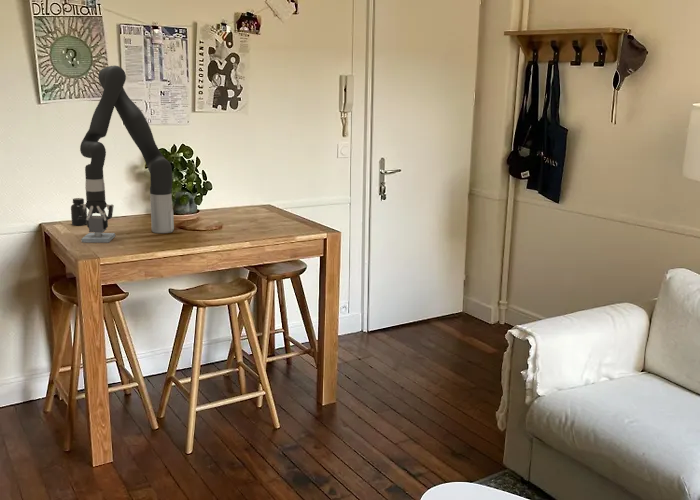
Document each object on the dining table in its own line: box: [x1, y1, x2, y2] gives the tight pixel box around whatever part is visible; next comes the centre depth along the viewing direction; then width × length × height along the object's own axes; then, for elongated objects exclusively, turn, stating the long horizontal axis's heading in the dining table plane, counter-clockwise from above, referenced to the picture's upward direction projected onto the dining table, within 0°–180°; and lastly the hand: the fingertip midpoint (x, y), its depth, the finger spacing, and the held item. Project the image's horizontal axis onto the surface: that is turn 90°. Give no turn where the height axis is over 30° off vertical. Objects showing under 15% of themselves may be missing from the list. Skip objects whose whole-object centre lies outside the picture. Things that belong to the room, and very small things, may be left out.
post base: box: [80, 232, 116, 244], centre depth 299 cm, size 11×11×8 cm
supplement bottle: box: [70, 197, 88, 227], centre depth 325 cm, size 7×7×12 cm
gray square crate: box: [88, 215, 107, 233], centre depth 298 cm, size 6×6×6 cm
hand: (97, 228), depth 299 cm, fingers closed on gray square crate, 5 cm apart
